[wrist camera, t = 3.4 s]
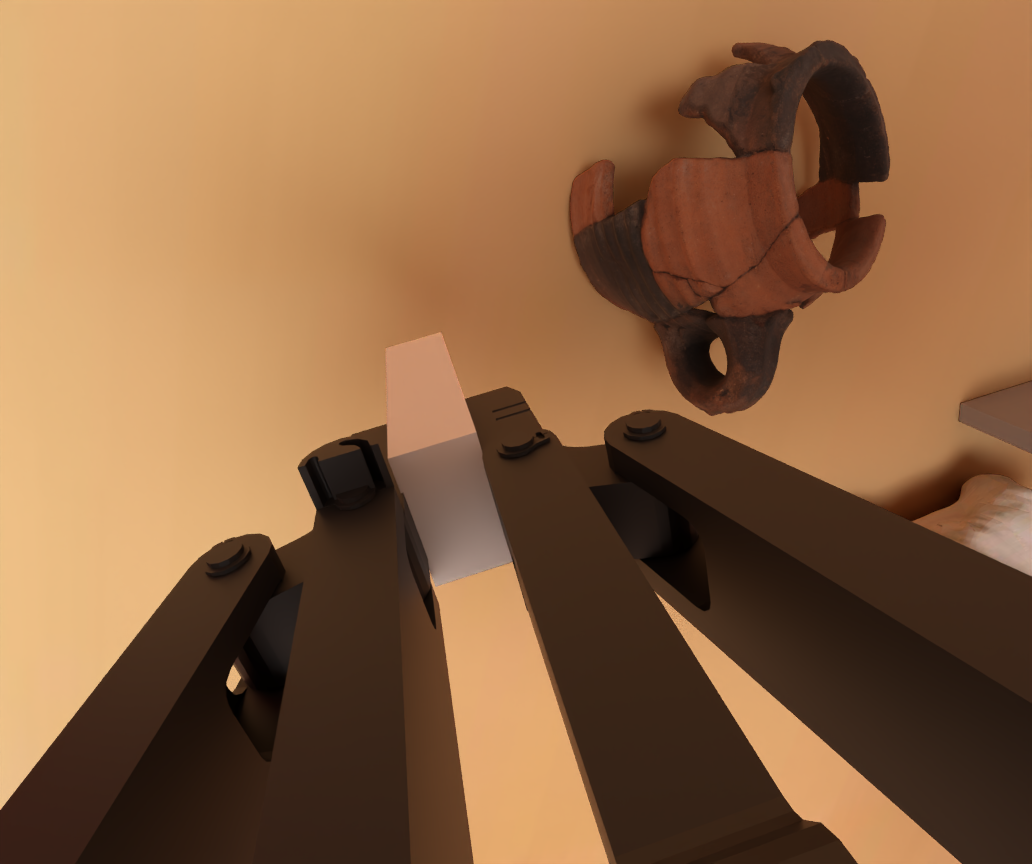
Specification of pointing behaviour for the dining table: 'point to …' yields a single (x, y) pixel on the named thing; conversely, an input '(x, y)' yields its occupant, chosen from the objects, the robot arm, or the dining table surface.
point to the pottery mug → (742, 219)
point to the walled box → (1003, 415)
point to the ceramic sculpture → (989, 520)
